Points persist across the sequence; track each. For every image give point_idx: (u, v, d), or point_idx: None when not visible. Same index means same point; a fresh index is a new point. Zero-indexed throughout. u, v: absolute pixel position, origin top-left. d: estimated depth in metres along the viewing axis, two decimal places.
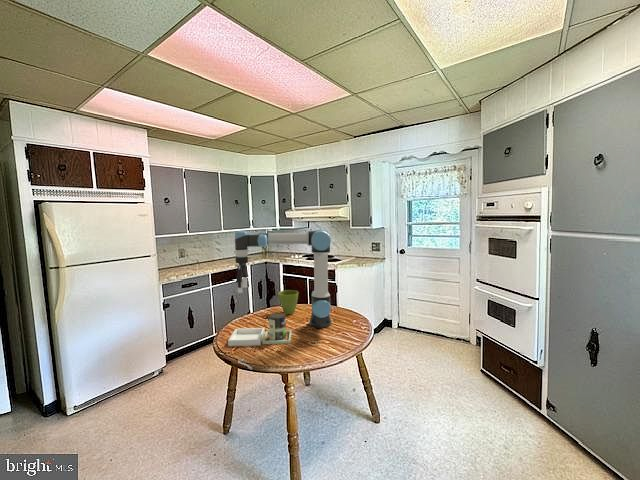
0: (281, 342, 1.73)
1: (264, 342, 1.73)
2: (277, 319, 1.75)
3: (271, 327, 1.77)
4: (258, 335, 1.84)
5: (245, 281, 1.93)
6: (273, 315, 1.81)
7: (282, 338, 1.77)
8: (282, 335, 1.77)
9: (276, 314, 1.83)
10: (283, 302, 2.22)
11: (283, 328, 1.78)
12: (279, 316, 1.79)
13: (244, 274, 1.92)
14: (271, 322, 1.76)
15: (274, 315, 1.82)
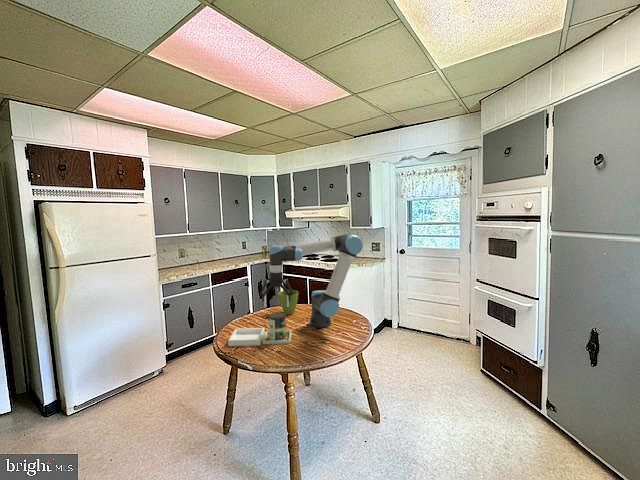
0: (281, 342, 1.73)
1: (264, 342, 1.73)
2: (277, 319, 1.75)
3: (271, 327, 1.77)
4: (258, 335, 1.84)
5: (287, 300, 1.79)
6: (273, 315, 1.81)
7: (282, 338, 1.77)
8: (282, 335, 1.77)
9: (276, 314, 1.83)
10: (283, 302, 2.22)
11: (283, 328, 1.78)
12: (279, 316, 1.79)
13: None
14: (271, 322, 1.76)
15: (274, 315, 1.82)
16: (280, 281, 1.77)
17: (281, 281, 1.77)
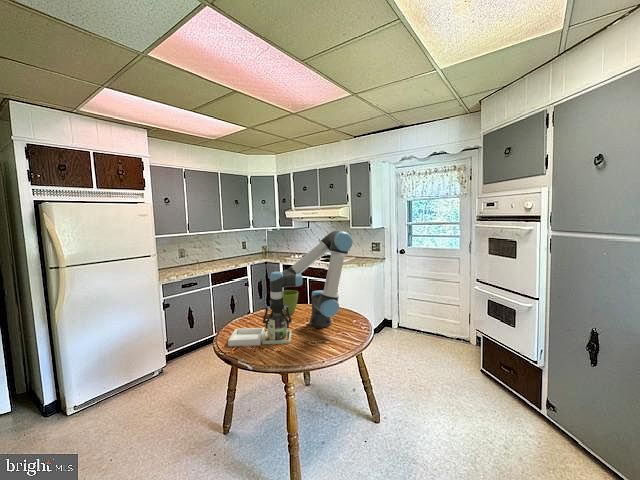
0: (281, 342, 1.73)
1: (264, 342, 1.73)
2: (277, 319, 1.75)
3: (271, 327, 1.77)
4: (258, 335, 1.84)
5: None
6: (273, 315, 1.81)
7: (282, 338, 1.77)
8: (282, 335, 1.77)
9: (276, 314, 1.83)
10: (283, 302, 2.22)
11: (283, 328, 1.78)
12: (279, 316, 1.79)
13: None
14: (271, 322, 1.76)
15: (274, 314, 1.82)
16: (281, 307, 1.79)
17: (282, 307, 1.79)
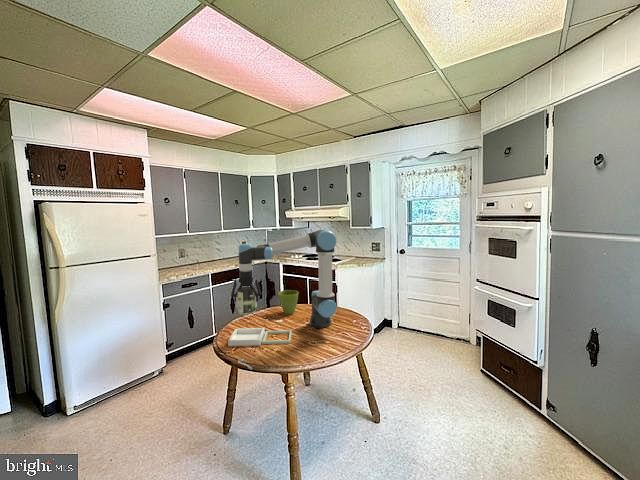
0: (281, 342, 1.73)
1: (264, 342, 1.73)
2: (246, 292, 1.72)
3: (239, 300, 1.73)
4: (258, 335, 1.84)
5: None
6: (242, 288, 1.78)
7: (251, 311, 1.74)
8: (251, 308, 1.74)
9: (245, 287, 1.80)
10: (283, 302, 2.22)
11: (252, 301, 1.75)
12: (248, 289, 1.76)
13: None
14: (239, 295, 1.73)
15: (243, 288, 1.78)
16: (250, 280, 1.76)
17: (251, 280, 1.76)
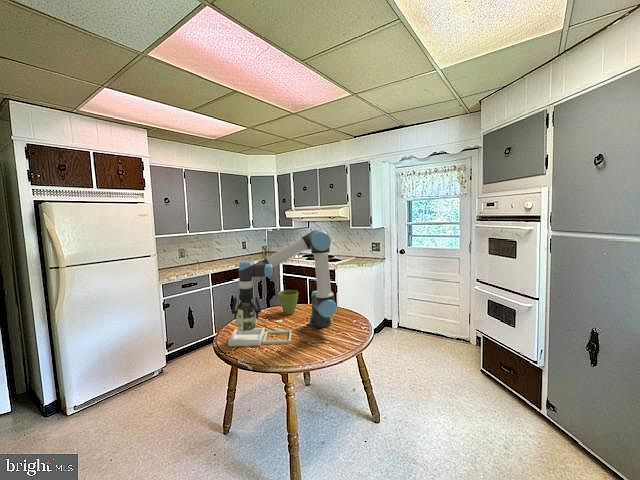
0: (281, 342, 1.73)
1: (264, 342, 1.73)
2: (246, 309, 1.73)
3: (239, 317, 1.74)
4: (258, 335, 1.84)
5: None
6: (242, 305, 1.78)
7: (251, 328, 1.75)
8: (251, 325, 1.75)
9: (245, 304, 1.80)
10: (283, 302, 2.22)
11: (252, 318, 1.75)
12: (248, 306, 1.76)
13: None
14: (239, 312, 1.74)
15: (243, 305, 1.79)
16: (250, 297, 1.76)
17: (251, 297, 1.76)
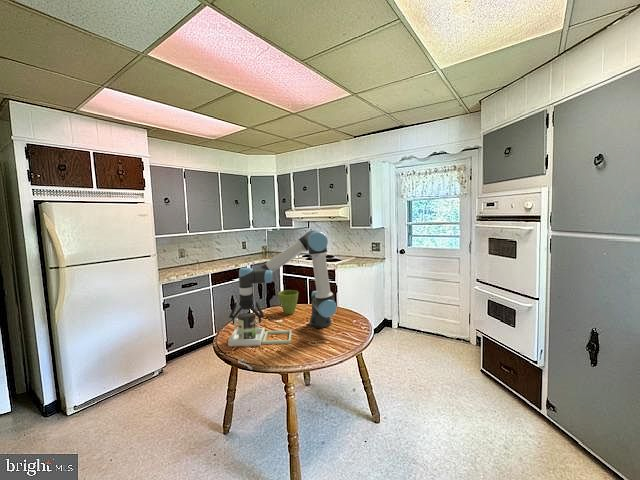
0: (281, 342, 1.73)
1: (264, 342, 1.73)
2: (246, 320, 1.73)
3: (240, 327, 1.75)
4: (258, 335, 1.84)
5: None
6: (243, 315, 1.79)
7: (251, 338, 1.76)
8: (251, 335, 1.75)
9: (246, 314, 1.81)
10: (283, 302, 2.22)
11: (252, 328, 1.76)
12: (248, 316, 1.77)
13: None
14: (240, 322, 1.74)
15: (244, 315, 1.80)
16: (250, 303, 1.77)
17: (251, 303, 1.77)
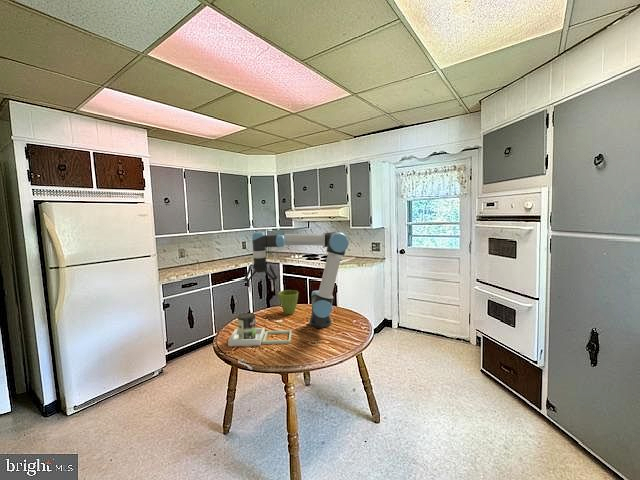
0: (281, 342, 1.73)
1: (264, 342, 1.73)
2: (246, 320, 1.73)
3: (240, 327, 1.75)
4: (258, 335, 1.84)
5: None
6: (242, 315, 1.79)
7: (251, 338, 1.76)
8: (251, 335, 1.75)
9: (245, 314, 1.81)
10: (283, 302, 2.22)
11: (252, 328, 1.76)
12: (248, 316, 1.77)
13: None
14: (240, 322, 1.74)
15: (243, 315, 1.80)
16: (264, 266, 1.84)
17: (265, 266, 1.84)
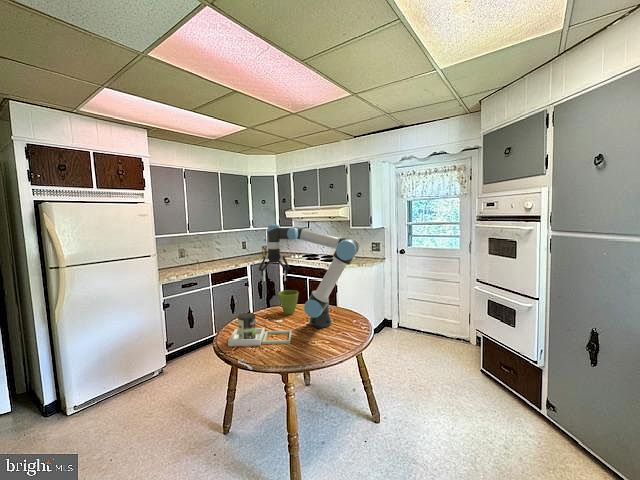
0: (281, 342, 1.73)
1: (264, 342, 1.73)
2: (246, 320, 1.73)
3: (240, 327, 1.75)
4: (258, 335, 1.84)
5: (284, 274, 1.95)
6: (242, 315, 1.79)
7: (251, 338, 1.76)
8: (251, 335, 1.75)
9: (245, 314, 1.81)
10: (283, 302, 2.22)
11: (252, 328, 1.76)
12: (248, 316, 1.77)
13: (283, 267, 1.95)
14: (240, 322, 1.74)
15: (243, 315, 1.80)
16: (277, 257, 1.93)
17: (278, 257, 1.93)
